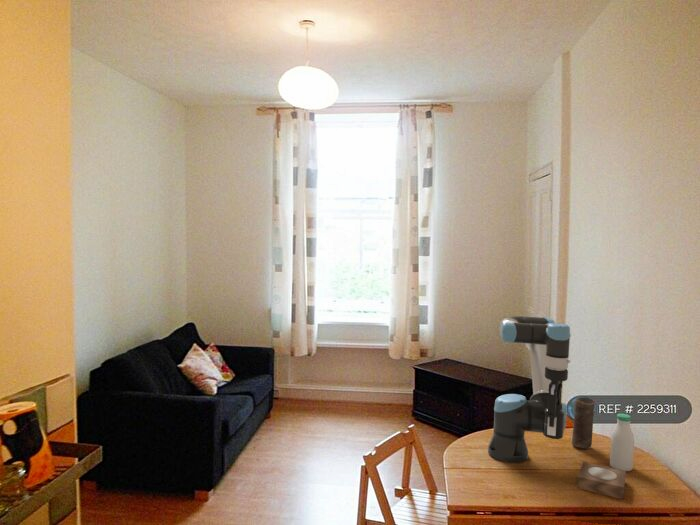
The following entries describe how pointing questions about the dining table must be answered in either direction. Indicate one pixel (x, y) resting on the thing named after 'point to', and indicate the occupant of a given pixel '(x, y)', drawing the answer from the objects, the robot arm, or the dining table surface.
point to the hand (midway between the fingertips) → (553, 431)
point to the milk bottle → (622, 444)
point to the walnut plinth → (602, 480)
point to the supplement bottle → (559, 422)
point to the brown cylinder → (583, 423)
